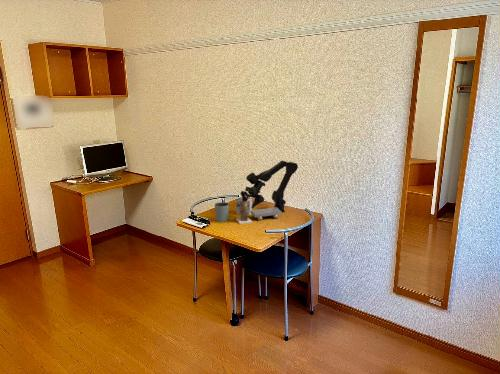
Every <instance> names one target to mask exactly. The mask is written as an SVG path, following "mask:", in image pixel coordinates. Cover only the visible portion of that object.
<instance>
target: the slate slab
mask: <svg viewBox="0 0 500 374" xmlns="http://www.w3.org/2000/svg"><path fill="white" fill-rule="evenodd" d="M282 213H283V212H282V211H280V210H279V209H278V208H277V207H276V208H274V207H268V208H260V209H258V208H257V209H252V210H251V214H250V215H252V216H253V217H254V218H256V219H257V220H258V221H259V222H262V221H263V217H268V216H272V217H273V218H274V219H275V220H278V219H279V215H282Z"/></svg>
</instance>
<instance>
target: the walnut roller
mask: <svg viewBox="0 0 500 374" xmlns="http://www.w3.org/2000/svg"><path fill="white" fill-rule="evenodd" d="M239 215H240V218H241V221H247V220H248V207H247V202H246V201H242V202H240V214H239Z"/></svg>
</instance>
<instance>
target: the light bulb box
mask: <svg viewBox="0 0 500 374" xmlns="http://www.w3.org/2000/svg"><path fill="white" fill-rule="evenodd" d="M247 199H248V200H247V201H246V202H247V207H248V215H249V216H251V215H252V214H251V210H253V208H251V207H252V205H253V198H252V197H249V198H247ZM235 202H236V215H240V202H242V197H238V198H237V199H236V201H235Z"/></svg>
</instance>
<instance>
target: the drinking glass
mask: <svg viewBox="0 0 500 374" xmlns="http://www.w3.org/2000/svg"><path fill="white" fill-rule="evenodd" d="M229 209H230V203H228V202H223V201H218V202H215V203H214V213H215V221H216V222H218V223H227V222H228V221H229Z"/></svg>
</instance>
